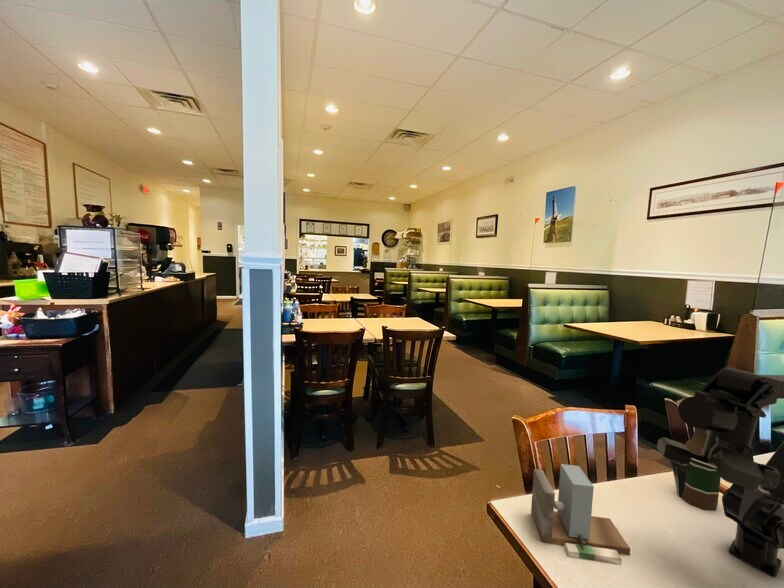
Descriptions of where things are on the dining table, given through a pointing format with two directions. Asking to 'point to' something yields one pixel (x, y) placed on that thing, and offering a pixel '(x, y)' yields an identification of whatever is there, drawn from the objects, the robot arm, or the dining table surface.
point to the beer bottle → (701, 477)
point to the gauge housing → (551, 530)
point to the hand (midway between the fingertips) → (709, 508)
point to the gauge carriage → (575, 502)
